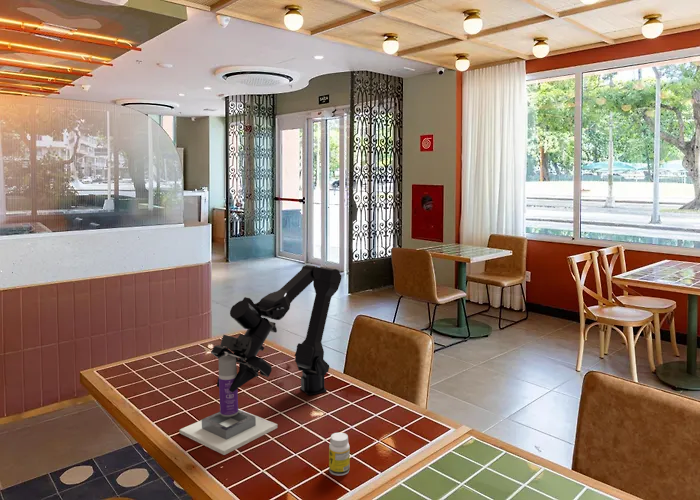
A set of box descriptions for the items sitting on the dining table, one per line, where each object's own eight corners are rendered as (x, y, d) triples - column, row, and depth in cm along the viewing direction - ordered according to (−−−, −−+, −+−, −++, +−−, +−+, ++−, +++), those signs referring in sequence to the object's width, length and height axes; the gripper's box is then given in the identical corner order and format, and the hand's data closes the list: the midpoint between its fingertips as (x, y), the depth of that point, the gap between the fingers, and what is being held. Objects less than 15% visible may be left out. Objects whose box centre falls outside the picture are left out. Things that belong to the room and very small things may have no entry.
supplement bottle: (328, 465, 126) (328, 431, 125) (348, 464, 126) (348, 430, 125) (329, 476, 121) (329, 441, 120) (350, 476, 121) (350, 441, 120)
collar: (231, 415, 149) (231, 406, 149) (255, 425, 143) (255, 416, 143) (201, 428, 141) (201, 419, 141) (226, 439, 135) (226, 430, 135)
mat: (233, 409, 155) (233, 406, 155) (277, 427, 144) (277, 424, 144) (179, 433, 141) (179, 429, 141) (224, 455, 130) (224, 451, 130)
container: (227, 418, 139) (225, 363, 137) (216, 413, 142) (214, 358, 140) (241, 412, 142) (240, 358, 140) (231, 407, 145) (229, 354, 143)
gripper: (215, 316, 147) (182, 366, 140) (262, 328, 136) (230, 383, 129) (238, 337, 155) (208, 385, 148) (284, 350, 143) (255, 403, 136)
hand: (224, 389), depth 140 cm, fingers closed on container, 5 cm apart
